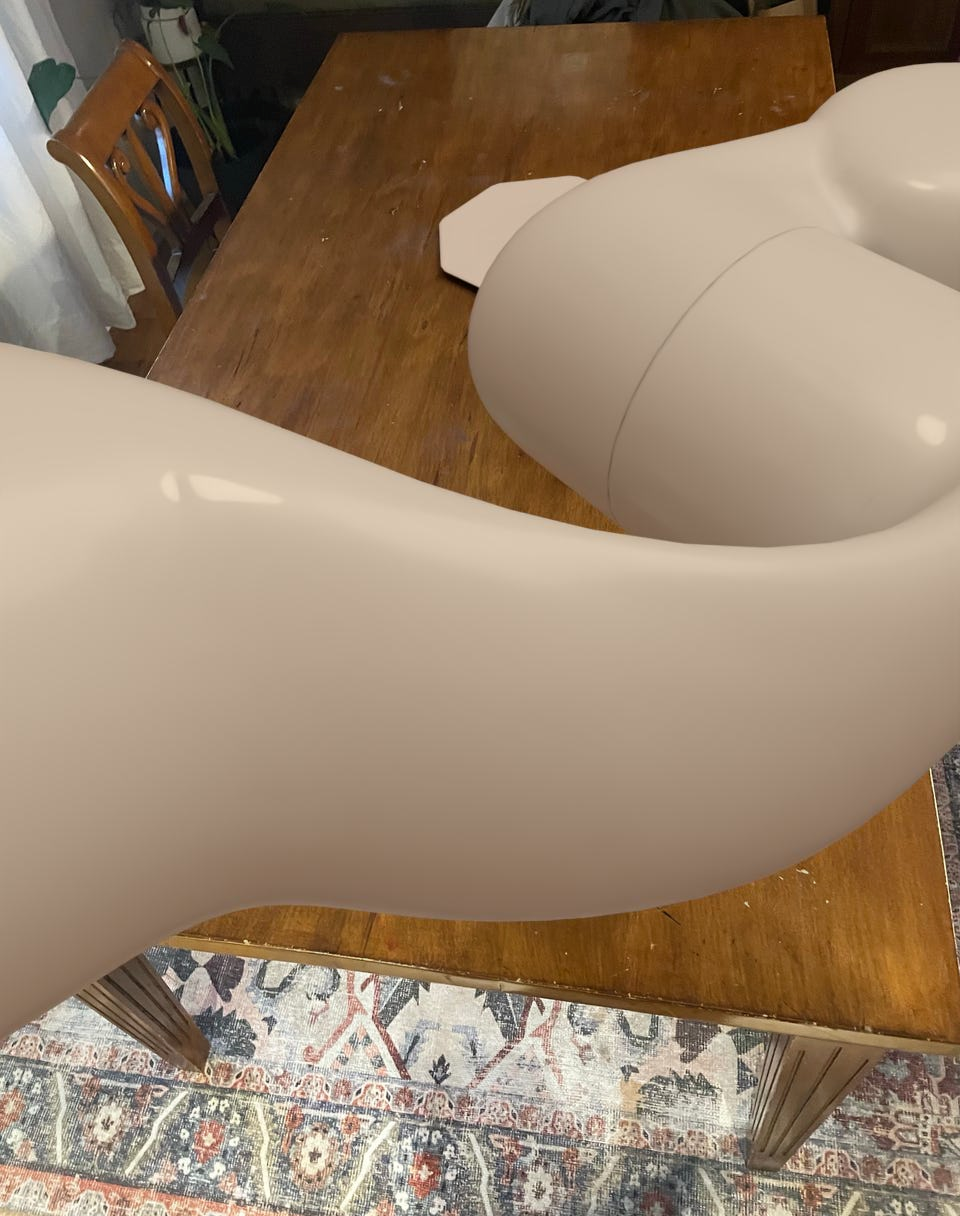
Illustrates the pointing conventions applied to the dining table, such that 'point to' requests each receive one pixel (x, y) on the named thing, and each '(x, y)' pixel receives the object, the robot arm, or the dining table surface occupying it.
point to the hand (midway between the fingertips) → (737, 736)
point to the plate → (493, 223)
